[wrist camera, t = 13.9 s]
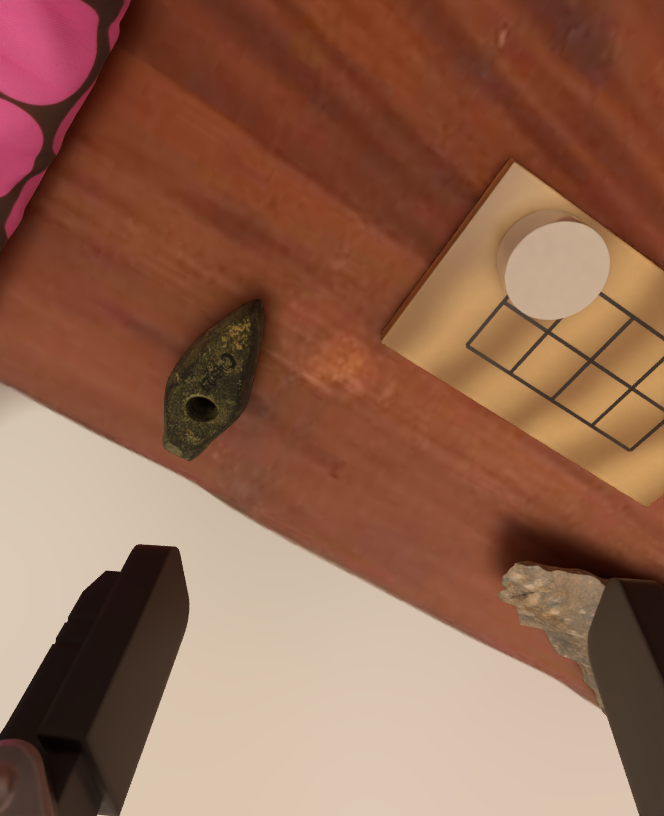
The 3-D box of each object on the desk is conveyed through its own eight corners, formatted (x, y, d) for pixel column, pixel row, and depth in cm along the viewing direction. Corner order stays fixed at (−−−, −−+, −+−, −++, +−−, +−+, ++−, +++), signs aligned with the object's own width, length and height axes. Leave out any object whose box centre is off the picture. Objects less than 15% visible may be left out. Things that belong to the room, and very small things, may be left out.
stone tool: (771, 640, 44) (580, 471, 35) (812, 699, 40) (610, 525, 31) (623, 707, 49) (425, 575, 40) (647, 764, 45) (434, 632, 36)
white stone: (476, 270, 29) (483, 286, 26) (540, 189, 26) (553, 200, 24) (546, 317, 30) (559, 337, 27) (614, 243, 27) (633, 258, 25)
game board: (380, 333, 32) (380, 343, 31) (510, 157, 27) (514, 160, 26) (639, 495, 36) (647, 508, 35) (796, 369, 31) (811, 379, 30)
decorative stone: (239, 454, 38) (223, 493, 34) (170, 434, 37) (146, 471, 34) (278, 289, 32) (263, 316, 28) (195, 264, 31) (169, 288, 28)
